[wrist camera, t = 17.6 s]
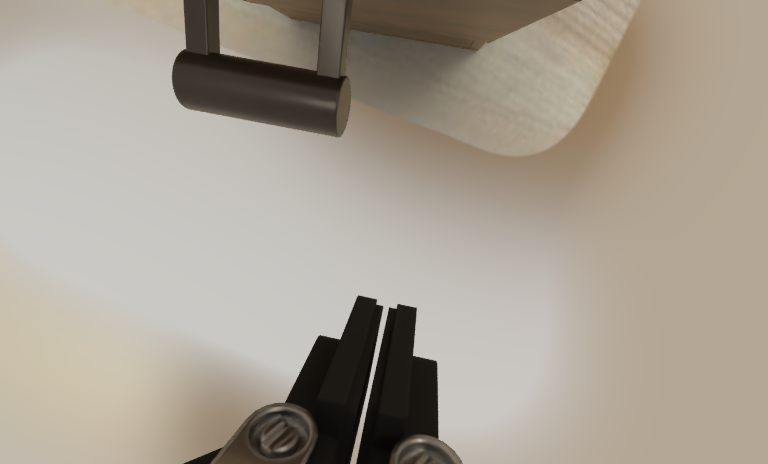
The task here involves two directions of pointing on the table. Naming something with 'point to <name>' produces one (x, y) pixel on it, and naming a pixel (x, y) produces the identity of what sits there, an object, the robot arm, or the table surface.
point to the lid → (323, 55)
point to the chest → (389, 30)
